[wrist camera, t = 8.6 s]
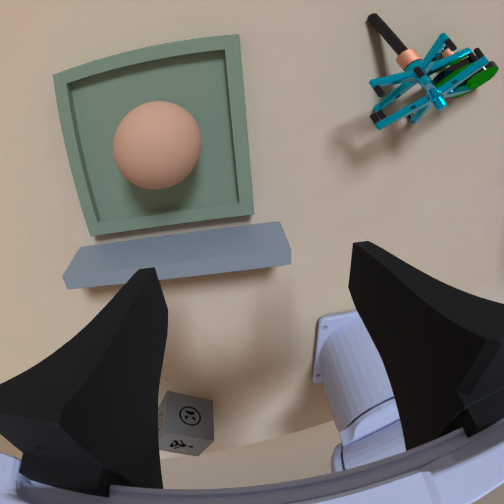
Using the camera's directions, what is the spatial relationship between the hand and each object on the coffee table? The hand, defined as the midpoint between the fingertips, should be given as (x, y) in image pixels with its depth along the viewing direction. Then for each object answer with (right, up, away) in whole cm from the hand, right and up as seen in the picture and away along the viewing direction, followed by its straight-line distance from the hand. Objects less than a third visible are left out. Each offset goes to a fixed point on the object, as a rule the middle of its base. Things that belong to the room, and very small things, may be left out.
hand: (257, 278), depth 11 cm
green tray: (-6, +8, +6) cm, 11 cm away
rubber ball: (-5, +6, +3) cm, 9 cm away
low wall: (-5, +2, +9) cm, 11 cm away
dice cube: (-8, -16, +20) cm, 27 cm away
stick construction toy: (+10, +13, +4) cm, 17 cm away
